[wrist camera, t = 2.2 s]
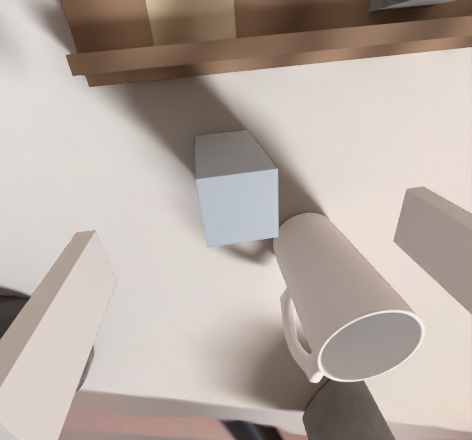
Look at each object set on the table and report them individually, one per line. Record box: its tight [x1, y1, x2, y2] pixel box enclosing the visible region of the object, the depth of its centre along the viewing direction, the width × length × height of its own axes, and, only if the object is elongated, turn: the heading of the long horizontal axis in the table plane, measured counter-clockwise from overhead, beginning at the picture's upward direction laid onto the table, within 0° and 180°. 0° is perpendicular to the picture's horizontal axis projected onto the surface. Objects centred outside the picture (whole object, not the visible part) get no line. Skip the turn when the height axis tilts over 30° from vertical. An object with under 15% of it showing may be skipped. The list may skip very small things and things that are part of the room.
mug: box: [273, 213, 425, 383], centre depth 22 cm, size 10×7×12 cm, turn 153°
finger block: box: [195, 129, 279, 248], centre depth 18 cm, size 4×4×9 cm
